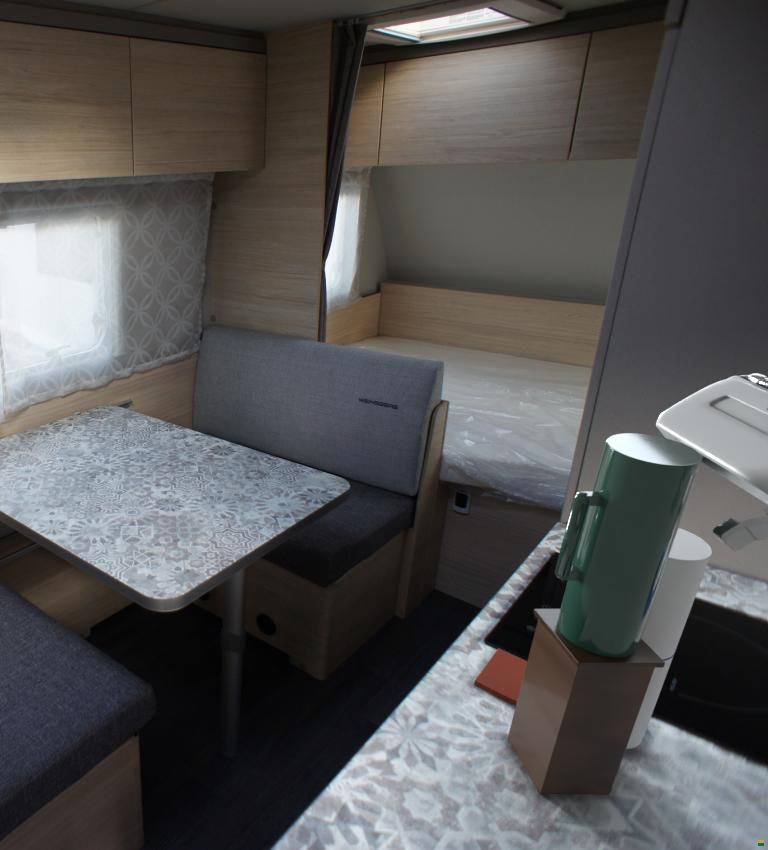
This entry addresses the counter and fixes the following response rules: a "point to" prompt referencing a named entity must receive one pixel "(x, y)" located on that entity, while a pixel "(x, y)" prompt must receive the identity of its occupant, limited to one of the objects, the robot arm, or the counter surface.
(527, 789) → the counter surface
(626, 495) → the jug
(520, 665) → the pad
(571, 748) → the stand
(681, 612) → the cylindrical container
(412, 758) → the counter surface
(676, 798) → the counter surface
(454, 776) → the counter surface
